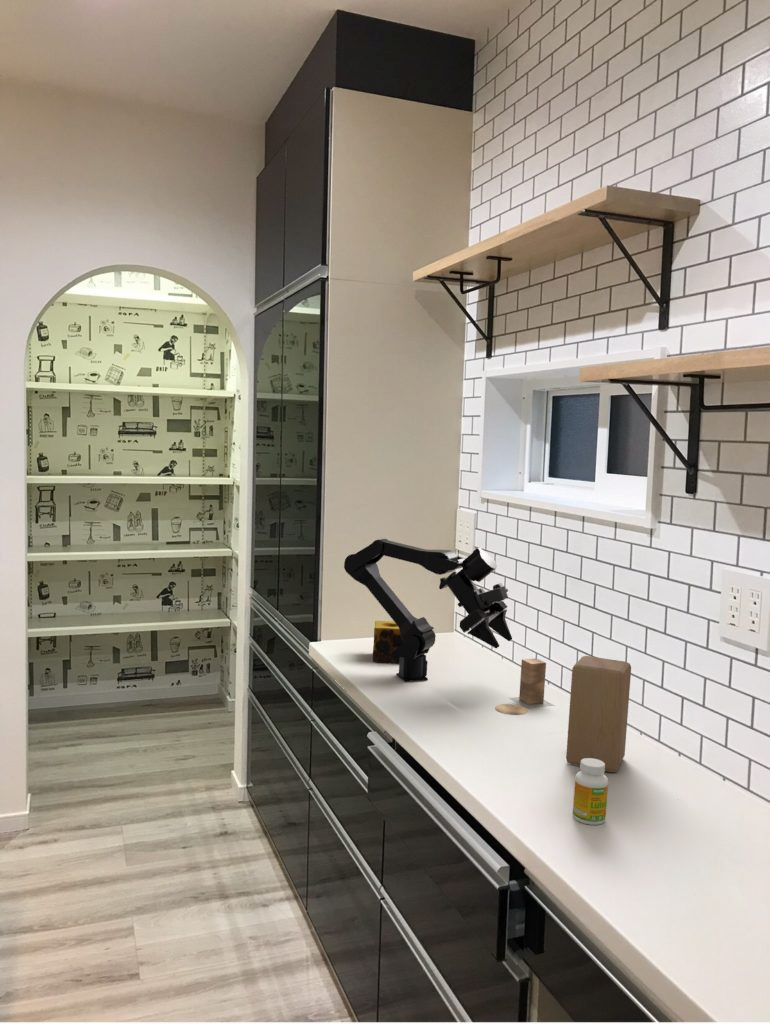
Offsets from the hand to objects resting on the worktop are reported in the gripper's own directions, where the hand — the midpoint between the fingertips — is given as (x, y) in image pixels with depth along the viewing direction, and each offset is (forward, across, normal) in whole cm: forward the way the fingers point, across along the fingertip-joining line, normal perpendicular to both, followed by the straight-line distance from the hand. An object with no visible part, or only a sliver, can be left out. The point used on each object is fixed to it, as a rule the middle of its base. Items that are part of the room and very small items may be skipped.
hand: (504, 643), depth 205 cm
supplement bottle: (+35, -56, -17) cm, 68 cm away
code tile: (+15, -1, +3) cm, 15 cm away
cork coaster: (+14, -10, +5) cm, 17 cm away
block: (+31, -30, -13) cm, 45 cm away
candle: (-17, +14, +37) cm, 43 cm away
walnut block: (+15, -1, +3) cm, 15 cm away
